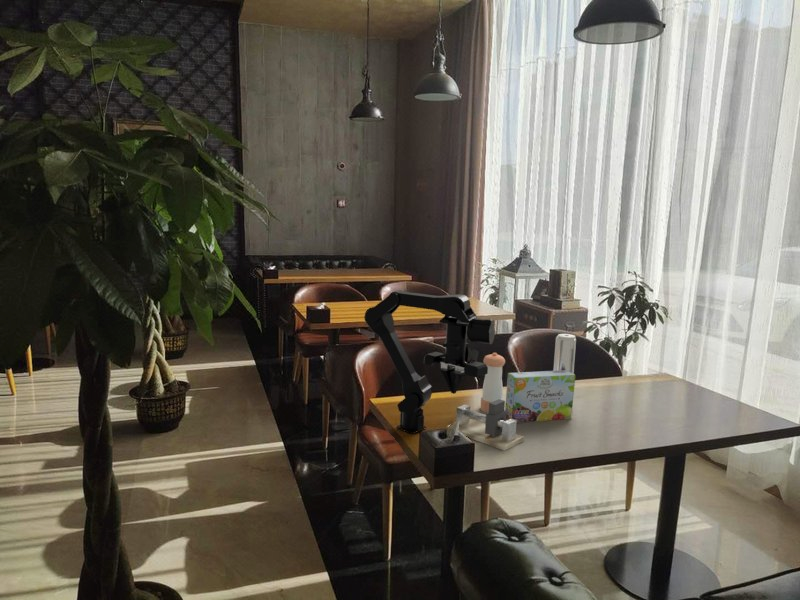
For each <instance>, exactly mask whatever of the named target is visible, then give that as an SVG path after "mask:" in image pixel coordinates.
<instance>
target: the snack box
mask: <svg viewBox="0 0 800 600" xmlns="http://www.w3.org/2000/svg"><path fill="white" fill-rule="evenodd" d="M506 379H507V381H506V391H505V392H506V395H505V408H504V410H505V411H507V415H506V421H507V420H509V419H513V420H516V421H517V423H516V424H520V423H531V422H533V423H535V421H536V422H547V421H548V420H550V421H561V419H564V420H571V419H572V415H573V414H572V413H573V407H574V406H573V404H574V403H573V402H574V394H575V383H576V374H575V373H574V374H573V373H571V372H569V371H567V370H560V371H553V370H544V371H543V370H541V371H525V372H524V371H523V372H520V371H519V372H507V378H506ZM548 422H549V421H548Z"/></svg>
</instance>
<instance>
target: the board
mask: <svg viewBox="0 0 800 600" xmlns="http://www.w3.org/2000/svg"><path fill="white" fill-rule="evenodd" d="M485 424H486V423H485V422H482V421H479V420H476V419H473V418H470V421H469V423H468V424H466V425H463V426H459V429H460V431H462V432H463V433H464V434H466V435H467V436H468V437H469V438H468V437H467V438H468V439H471V440H474V441H477V442H480V443H482V444H485V445H488V446H491V447H494V448H497V449H499V450H502V451H504V452H505V451H507V450H509V449H511V448H513V447H514V446H517V445H518V444H520V443H522V442H524V441H525V436H523V435H520V434H517V433H516V438H515V439H513V440H511V441H510V442H505V441H502V433H500V434H498V435H496V436H491V435H488V434H485ZM450 425H451V424H449V425H447V426H446V428H447V427H449V426H450Z"/></svg>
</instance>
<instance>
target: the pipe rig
mask: <svg viewBox="0 0 800 600" xmlns="http://www.w3.org/2000/svg"><path fill="white" fill-rule="evenodd" d="M455 415H456V417H455V419H456V421H457V420H458V421H459V426H463V425H466V424H468V423H469V421H470V419H473V420H476V421H479V422H482V423H486V414H484V413H481V412H477V411H475V410H471V405H467V404H462V405H460V406H457V407H456V414H455ZM456 421H455V422H456ZM517 424H518V423H517V421H516V420H513V419H509V420H507V419H506V421H503V420H498V424H497V426H498V427H501V428H502V441H505V442H510V441H511V440H513V439H515V438H516V434H517Z"/></svg>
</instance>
